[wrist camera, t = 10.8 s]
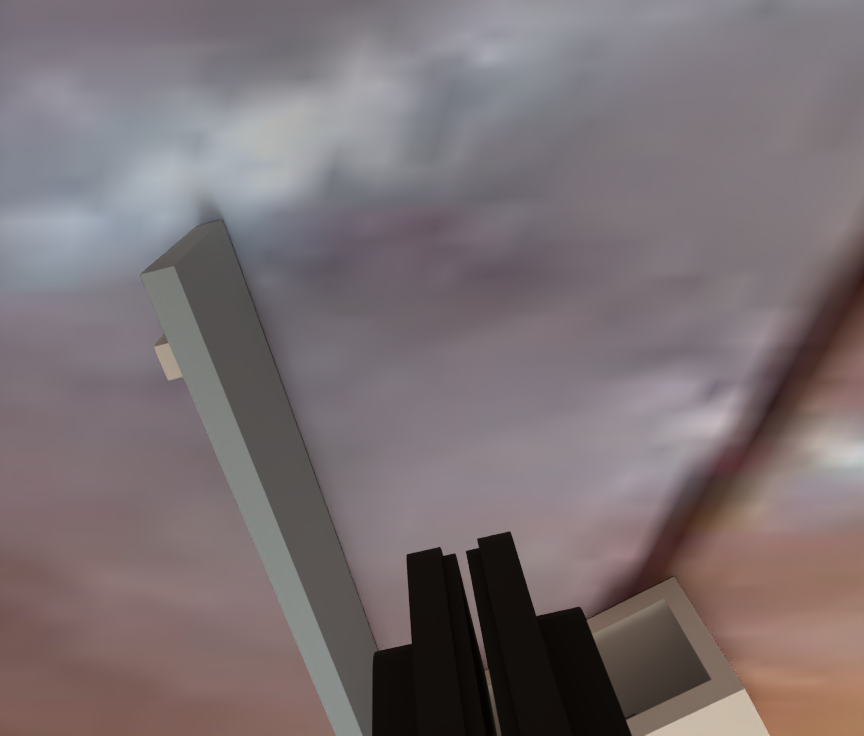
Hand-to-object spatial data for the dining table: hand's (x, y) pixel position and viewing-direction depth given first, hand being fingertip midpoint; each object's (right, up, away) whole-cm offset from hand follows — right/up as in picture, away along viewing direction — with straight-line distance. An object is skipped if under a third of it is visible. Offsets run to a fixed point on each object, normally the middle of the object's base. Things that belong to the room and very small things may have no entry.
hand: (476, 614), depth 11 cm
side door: (-6, -3, +20) cm, 21 cm away
